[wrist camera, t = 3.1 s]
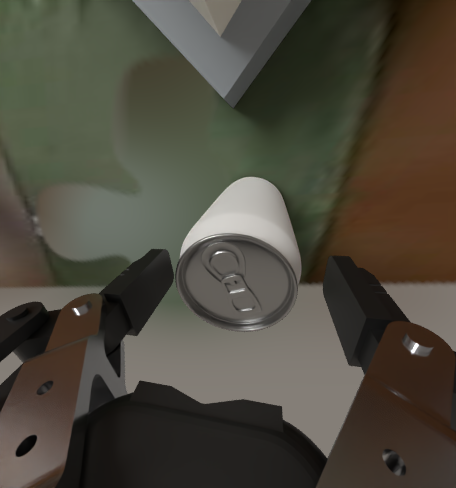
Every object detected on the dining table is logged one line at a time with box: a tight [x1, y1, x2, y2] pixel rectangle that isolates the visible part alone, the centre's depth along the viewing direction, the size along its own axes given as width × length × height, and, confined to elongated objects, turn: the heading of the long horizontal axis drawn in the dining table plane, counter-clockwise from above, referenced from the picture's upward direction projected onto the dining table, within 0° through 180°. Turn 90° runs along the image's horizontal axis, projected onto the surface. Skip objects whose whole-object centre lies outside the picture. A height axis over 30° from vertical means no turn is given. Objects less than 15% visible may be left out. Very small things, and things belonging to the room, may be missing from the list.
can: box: [175, 177, 301, 332], centre depth 14 cm, size 6×6×12 cm
